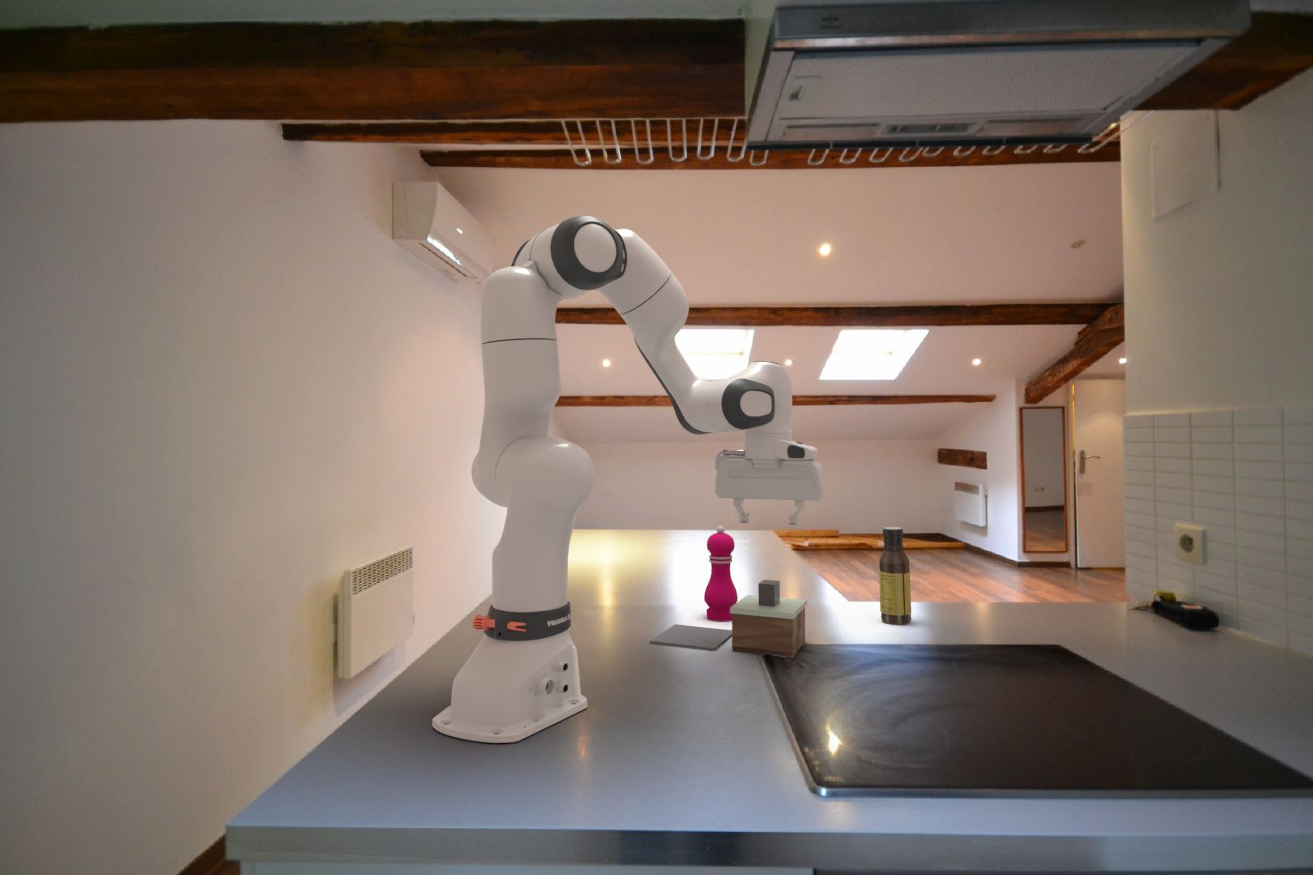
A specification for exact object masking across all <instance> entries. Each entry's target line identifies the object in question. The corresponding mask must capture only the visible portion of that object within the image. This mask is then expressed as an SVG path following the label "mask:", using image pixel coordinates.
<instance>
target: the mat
mask: <svg viewBox="0 0 1313 875" xmlns="http://www.w3.org/2000/svg"><path fill="white" fill-rule="evenodd" d="M730 639H732V629H721V628H714V627H713V628H712V627H705V626H695V625H685V624H676V623H675V624H673V625H672V626H670V627H669V628H667V629H665V630H664V631H663V632H661V633H659V634H657V635H656V636H654V637H653V638H651V639H650V640H649V644H654V645H660V646H661V645H662V646H669V647H677V648H685V649H686V648H687V649H693V650H694V649H695V650H700V651H701V650H702V651H711V652H716V651H717V650H718V649H719V648H720V647H722V646H723V645H724V644H725V643H726V642H728V641H729V640H730Z"/></svg>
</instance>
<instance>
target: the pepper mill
mask: <svg viewBox="0 0 1313 875" xmlns="http://www.w3.org/2000/svg"><path fill="white" fill-rule="evenodd" d="M725 530H726V529H725V526H723V525H718V526H717V527H716V532H715V533H713V534H710V535H709V537H708V538H707V541H706V549H707V551H708V552H709V554H710V555H708V557H709V560H708V561H709V562H708V563H710V567H711V571H710V577H709V581H708V582H707V585H706V587H705V591H704V596H703V597H704V598H703V600H704V602H705V604H706V605H707V607H708V608H707V609H706V619H707V620H710V621H713V622H732V613H730V607H732V606H733V605H734V604H736V603H737V602H739V600H738V598H739V597H738V592H737V589H736V586H735V584H734V582H733V580H732V579H733V578H732V575H731V574H732V573H731V563H732V562H733V560H732V558H733V555H732V553H733V552H734V550H735V541H734V538H733V537H732V535H730V534H728V533H726V532H725Z"/></svg>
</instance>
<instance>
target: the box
mask: <svg viewBox="0 0 1313 875" xmlns="http://www.w3.org/2000/svg"><path fill="white" fill-rule="evenodd" d="M731 625H732V626H731V628H732V629H731V630H732V637H731V641H732V643H731V645H732V647H731V649H732V650H731V652H734V653H739V654H740V653H743V654H750V655H759V656H762V655H761V654H771V655H780V656H786V657H792V658H794V657H795V656H796V655H797V653H798V652H799V651H800V649H801V648H802V647H803V645H804V644H805V643H806V607H805V608H804V609H803V610H802V611H801V612H800V613H799V614H798V615H797V616H796V617H795V618H794V619H785V618H774V617H764V616H754V615H743V614H733V613H732V620H731ZM801 646H802V647H801ZM800 647H801V648H800ZM799 648H800V649H799ZM798 650H799V651H798ZM797 651H798V652H797ZM796 652H797V653H796ZM795 654H796V655H795ZM794 655H795V656H794ZM793 656H794V657H793Z"/></svg>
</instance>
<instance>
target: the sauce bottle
mask: <svg viewBox="0 0 1313 875" xmlns="http://www.w3.org/2000/svg"><path fill="white" fill-rule="evenodd" d="M882 535H883V544H884V545H883V549H884V550H883V551H882V554H880V557H879V559H878V574H879V575H878V579H879V608H880V609H879V610H880V614H881V615H880V617H881V621H882V622H884V623H886V624H889V625H894V626H895V625H896V626H897V625H900V626H901V625H902V626H903V625H907V624H909V623H911V622H912V595H911V594H912V591H911V571H910V559H909V557H908V556H907V554H906V552H905V551H904V545H903V536H904V528H903V527H901V526H886V527H883V528H882Z"/></svg>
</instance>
